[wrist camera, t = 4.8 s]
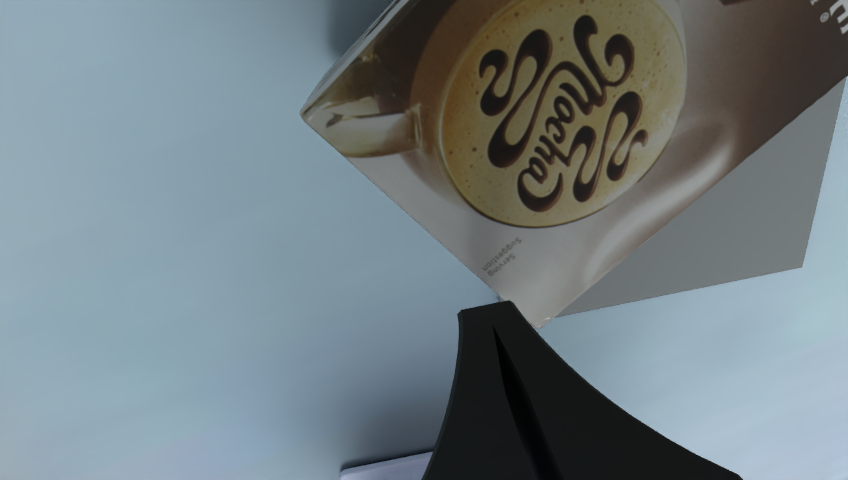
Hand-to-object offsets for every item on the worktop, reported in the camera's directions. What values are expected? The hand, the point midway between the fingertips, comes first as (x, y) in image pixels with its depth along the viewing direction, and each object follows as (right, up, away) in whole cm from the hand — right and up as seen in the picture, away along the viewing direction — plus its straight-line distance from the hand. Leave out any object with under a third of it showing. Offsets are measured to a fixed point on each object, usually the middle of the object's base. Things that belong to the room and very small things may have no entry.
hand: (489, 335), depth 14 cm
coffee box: (-2, +4, +3) cm, 5 cm away
